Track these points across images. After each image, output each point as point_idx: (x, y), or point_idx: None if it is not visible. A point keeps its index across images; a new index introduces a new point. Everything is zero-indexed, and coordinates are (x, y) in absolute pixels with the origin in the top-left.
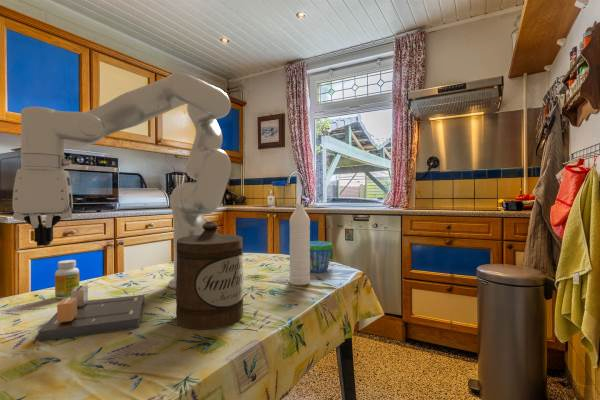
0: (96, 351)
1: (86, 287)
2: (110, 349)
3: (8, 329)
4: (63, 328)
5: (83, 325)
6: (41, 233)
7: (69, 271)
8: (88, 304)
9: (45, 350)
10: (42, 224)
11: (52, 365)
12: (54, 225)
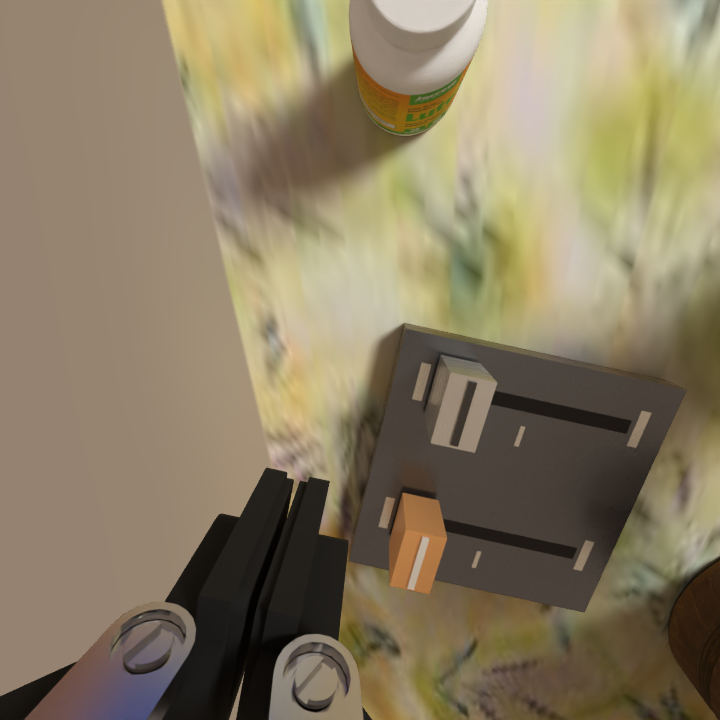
0: (463, 654)
1: (489, 403)
2: (490, 660)
3: (264, 406)
4: None
5: (449, 581)
6: (246, 658)
7: (431, 77)
8: None
9: (369, 594)
10: (199, 702)
11: (387, 664)
12: (350, 671)
